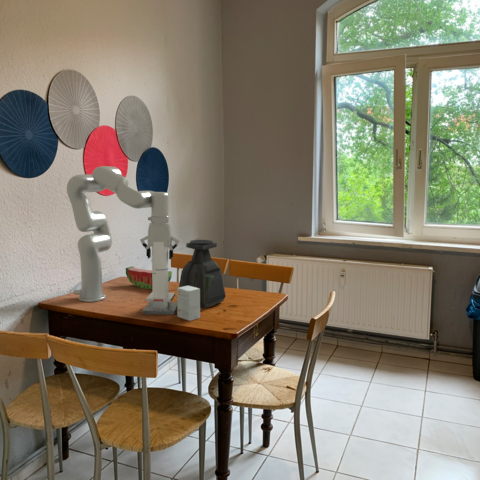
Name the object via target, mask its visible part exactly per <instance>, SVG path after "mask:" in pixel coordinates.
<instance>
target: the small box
mask: <svg viewBox="0 0 480 480" xmlns="http://www.w3.org/2000/svg"><path fill="white" fill-rule="evenodd" d="M176 290H177V291H176V292H177V293H176V294H177V295H176V296H177V297H176V299H177V300H176V302H177V310H176V312H177V314H176V315H177V318H180V319H183V320H186V321H188V322H189V321H190V322H191V321H193V320H194V321H195V320H196V319H200V318H201V308H200V289H199V288H196V287H192V286H183V287H179V286H178V287H177V289H176Z"/></svg>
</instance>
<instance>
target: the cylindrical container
mask: <svg viewBox="0 0 480 480" xmlns="http://www.w3.org/2000/svg"><path fill="white" fill-rule="evenodd" d="M151 270H152V289H151V290H152V292H153V297H156V298H164V297H168V296H169V293H170V292H169V286H170V285H169V283H168V271H169V247H168V246H164V242H154V246H151Z"/></svg>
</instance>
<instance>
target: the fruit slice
mask: <svg viewBox="0 0 480 480" xmlns="http://www.w3.org/2000/svg"><path fill="white" fill-rule="evenodd" d="M172 273H173V271H170V270H168V283H169V282H170V281H171V280H172V275H173V274H172ZM125 274H126V278H127V280H128V281H129V282H130V283H131V284H132V285H133V286H135V287H138V288H140V289H144V288H145V289H146V290H153V289H152V269H151V270H150V269H143V268H142V269H141V268H136V267H135V266H129V267H125Z"/></svg>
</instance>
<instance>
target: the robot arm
mask: <svg viewBox="0 0 480 480" xmlns="http://www.w3.org/2000/svg"><path fill="white" fill-rule="evenodd" d="M105 190H109V191H111V192H112V193H113V194H116V197H117V198H118V200H119V201H121V202H122V203H124V204H125V205H128V206H129V207H131V208H134V209H144V208H145V209H147V208H151V210H150V216H148V217H147V220H148V221H150V223H149V224H148V230H147V236H144V237H142V238H141V239H140V243H141V244H142V246H143V248H145V250H146V251H145V252H146V257H147V259H150V258H152V246H154V242H164V246H168V260H171V259H173V257H174V250H175V248H176V249H177V247H178V245H179V243H180V240H179V239H178V238H176V237H174V236H172V226H171V224H170V222H169V220H170V219H169V211H170V209H169V207H170V206H169V205H170V200H169V199H170V197H169V194H168V192H165V191H153V190H135V189H134V188H131V187H129V179H128V178H127V177H126V176H124V175H122V172H121V170H120V169H119V168H118V167H117V166H114V165H113V166H111V165H108V166H107V165H101V166H97V167H95V168H94V169H93V171H92V174H87V173H86V174H77V175H73V176H72V177H70V178H69V180H68V181H67V185H66V193H67V196H68V200H69V202H70V204H71V209H72V213H73V217H74V222H75V224H76V228H77V229H78V231H79V232H83V233H86V232H87V233H88V232H93V233H89V234H85V235H83V236H81V237H80V238H79V239H78V241H77V250H78V254H79V258H80V274H81V276H80V277H81V278H80V279H81V289H74V290H73V294H74V295H75V296H76V295H79V296H78V300H79V301H81V302H86V303H87V302H91V303H92V302H99V301H103V300H105V299H106V298H107V295H106V294H105V293H103V275H102V274H103V272H102V269H103V268H102V265H103V264H102V260H101V257H100V256H99V253H104V252H106V251H109V250H110V249H111V247H112V245H113V239H112V234H111V230H110V226H109V225H110V224H109V221H108V218H107V215H105V214H104V213H103V211H102V212H101V211H99V210H92V206H91V202H90V200H89V198H88V197H87V196H86V194H85V193H100V192H102V191H105ZM146 240H147V243H146ZM172 242H174V244H172Z"/></svg>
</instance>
